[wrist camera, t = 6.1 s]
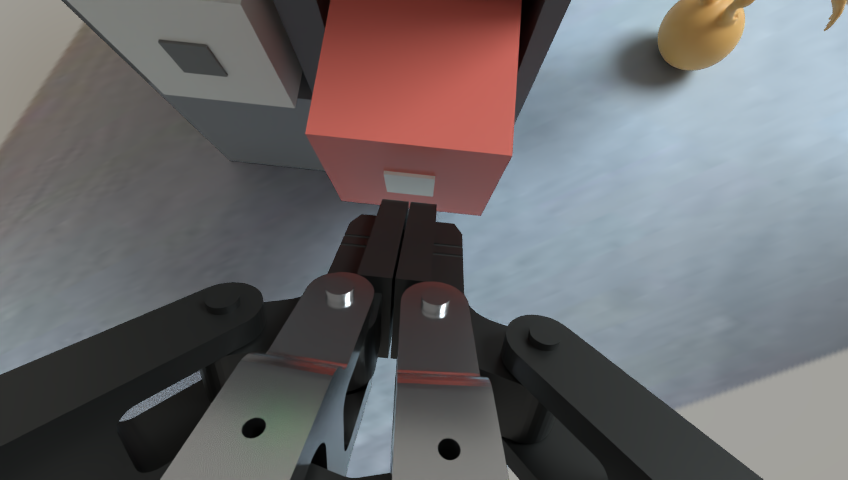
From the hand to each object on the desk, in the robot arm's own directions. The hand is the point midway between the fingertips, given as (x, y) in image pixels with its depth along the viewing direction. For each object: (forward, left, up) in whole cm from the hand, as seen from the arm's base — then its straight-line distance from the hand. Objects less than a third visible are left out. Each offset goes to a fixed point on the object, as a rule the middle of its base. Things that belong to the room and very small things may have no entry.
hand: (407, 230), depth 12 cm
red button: (0, -4, -2) cm, 5 cm away
